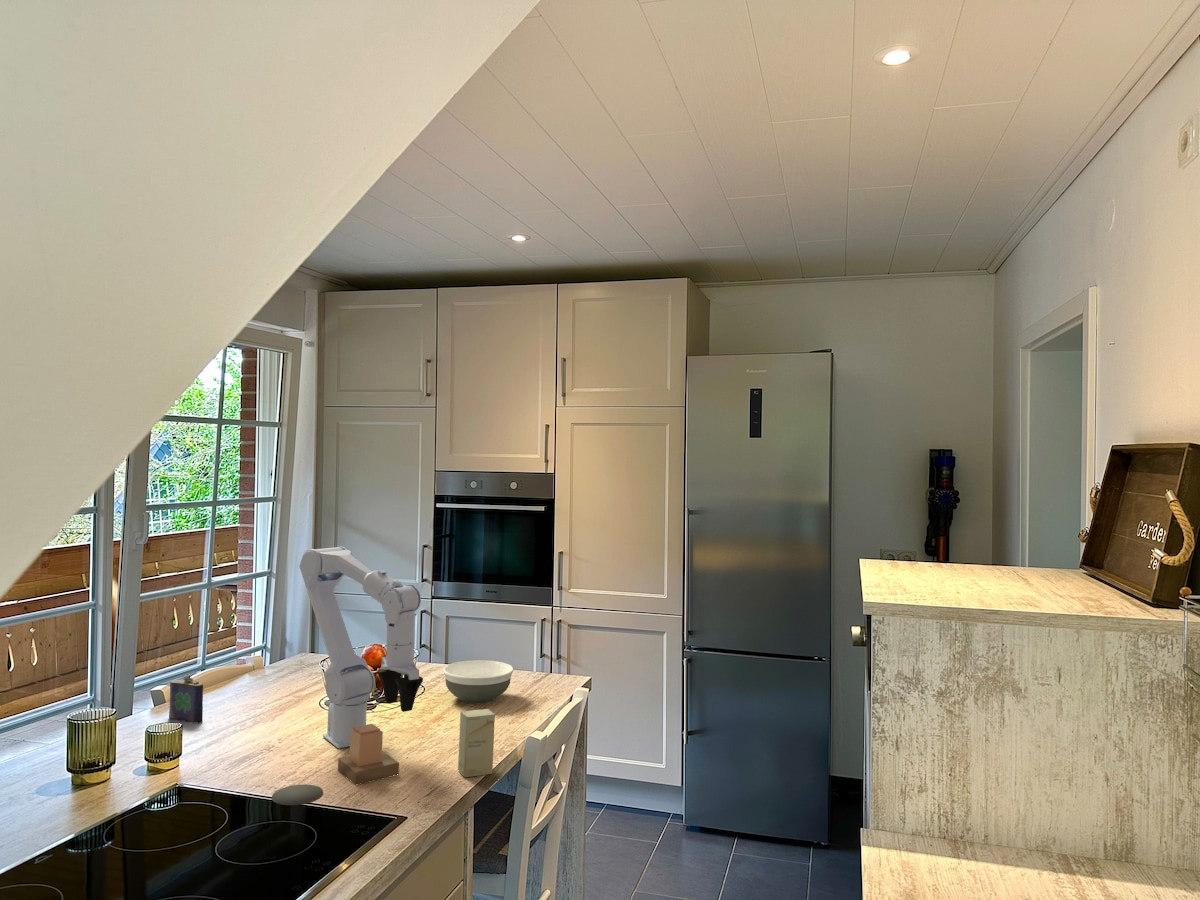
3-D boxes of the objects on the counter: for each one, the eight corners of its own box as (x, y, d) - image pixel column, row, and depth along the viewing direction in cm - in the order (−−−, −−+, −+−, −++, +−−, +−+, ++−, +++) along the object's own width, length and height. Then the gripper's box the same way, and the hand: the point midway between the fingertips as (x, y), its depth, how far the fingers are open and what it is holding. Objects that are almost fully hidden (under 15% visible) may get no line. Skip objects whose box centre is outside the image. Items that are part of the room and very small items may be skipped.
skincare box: (464, 778, 163) (466, 717, 164) (457, 770, 167) (459, 711, 167) (493, 773, 166) (495, 713, 166) (486, 766, 170) (488, 707, 170)
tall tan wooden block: (349, 759, 165) (350, 727, 165) (371, 754, 168) (372, 722, 168) (358, 766, 162) (359, 733, 162) (381, 761, 165) (382, 729, 165)
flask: (166, 719, 194) (168, 674, 194) (176, 715, 197) (178, 671, 197) (196, 724, 191) (198, 678, 191) (206, 720, 194) (208, 675, 194)
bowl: (477, 685, 230) (477, 656, 231) (527, 698, 219) (528, 667, 220) (427, 700, 215) (427, 669, 215) (478, 714, 204) (479, 681, 204)
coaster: (265, 794, 154) (265, 791, 154) (313, 783, 160) (313, 780, 160) (280, 811, 147) (280, 808, 147) (329, 799, 152) (329, 796, 152)
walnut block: (337, 773, 166) (338, 758, 166) (379, 763, 171) (380, 749, 171) (355, 787, 159) (355, 772, 159) (398, 777, 164) (399, 762, 164)
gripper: (368, 639, 179) (367, 701, 178) (397, 651, 167) (395, 718, 167) (399, 635, 183) (397, 696, 183) (428, 647, 172) (427, 712, 171)
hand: (398, 706), depth 175 cm, fingers open, 7 cm apart
